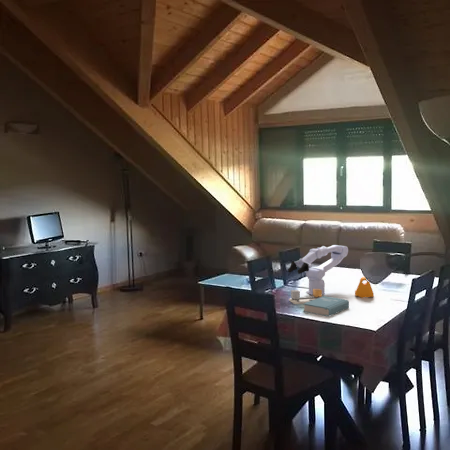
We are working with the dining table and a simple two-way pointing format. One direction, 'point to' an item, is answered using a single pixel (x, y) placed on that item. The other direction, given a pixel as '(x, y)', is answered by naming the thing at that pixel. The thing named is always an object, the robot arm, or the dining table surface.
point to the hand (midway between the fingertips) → (293, 271)
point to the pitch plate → (300, 298)
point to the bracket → (364, 289)
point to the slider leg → (317, 293)
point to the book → (326, 306)
